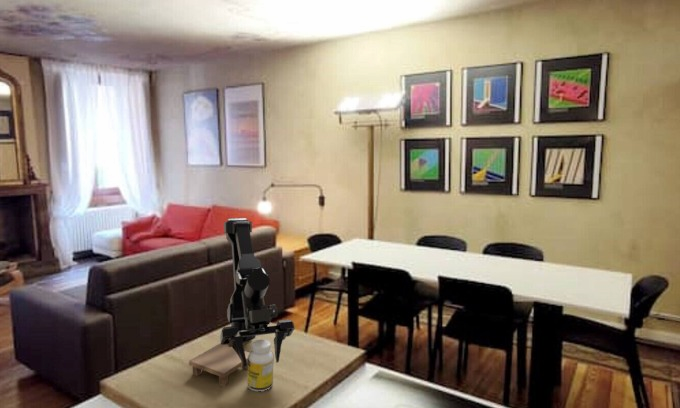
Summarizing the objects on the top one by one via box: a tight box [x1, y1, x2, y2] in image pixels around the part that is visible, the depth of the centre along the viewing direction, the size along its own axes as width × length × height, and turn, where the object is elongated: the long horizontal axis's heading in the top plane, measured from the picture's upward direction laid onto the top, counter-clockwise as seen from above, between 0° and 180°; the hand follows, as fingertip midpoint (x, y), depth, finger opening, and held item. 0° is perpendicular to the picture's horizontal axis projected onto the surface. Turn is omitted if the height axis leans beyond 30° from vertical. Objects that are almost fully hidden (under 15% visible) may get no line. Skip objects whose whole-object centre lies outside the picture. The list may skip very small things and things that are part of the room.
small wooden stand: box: [188, 342, 250, 387], centre depth 122 cm, size 12×12×4 cm
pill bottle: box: [247, 339, 275, 392], centre depth 115 cm, size 6×6×12 cm
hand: (261, 364), depth 114 cm, fingers open, 8 cm apart
